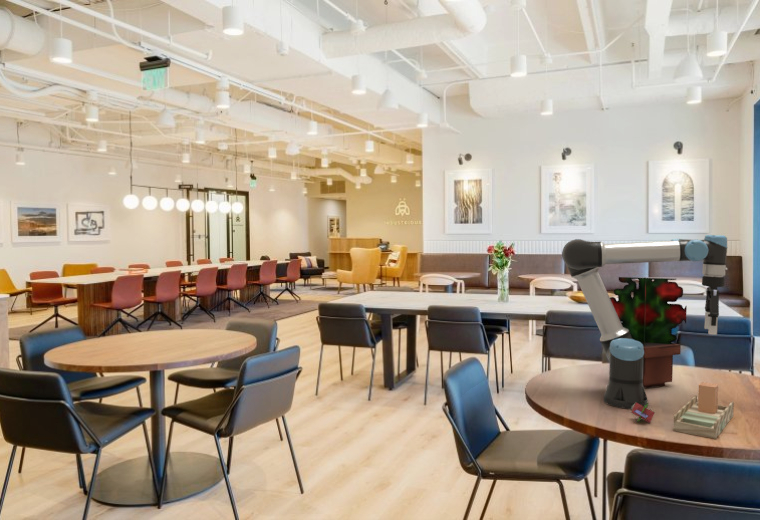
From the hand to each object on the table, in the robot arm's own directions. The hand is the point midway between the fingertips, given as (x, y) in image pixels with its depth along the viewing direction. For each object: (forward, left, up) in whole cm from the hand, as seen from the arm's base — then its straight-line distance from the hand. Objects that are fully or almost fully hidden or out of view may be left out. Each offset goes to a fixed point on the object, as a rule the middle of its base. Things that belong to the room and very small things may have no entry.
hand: (710, 331), depth 221 cm
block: (-15, -22, -23) cm, 35 cm away
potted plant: (-12, +26, -27) cm, 39 cm away
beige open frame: (-19, -25, -26) cm, 41 cm away
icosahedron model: (-39, -22, -27) cm, 52 cm away
